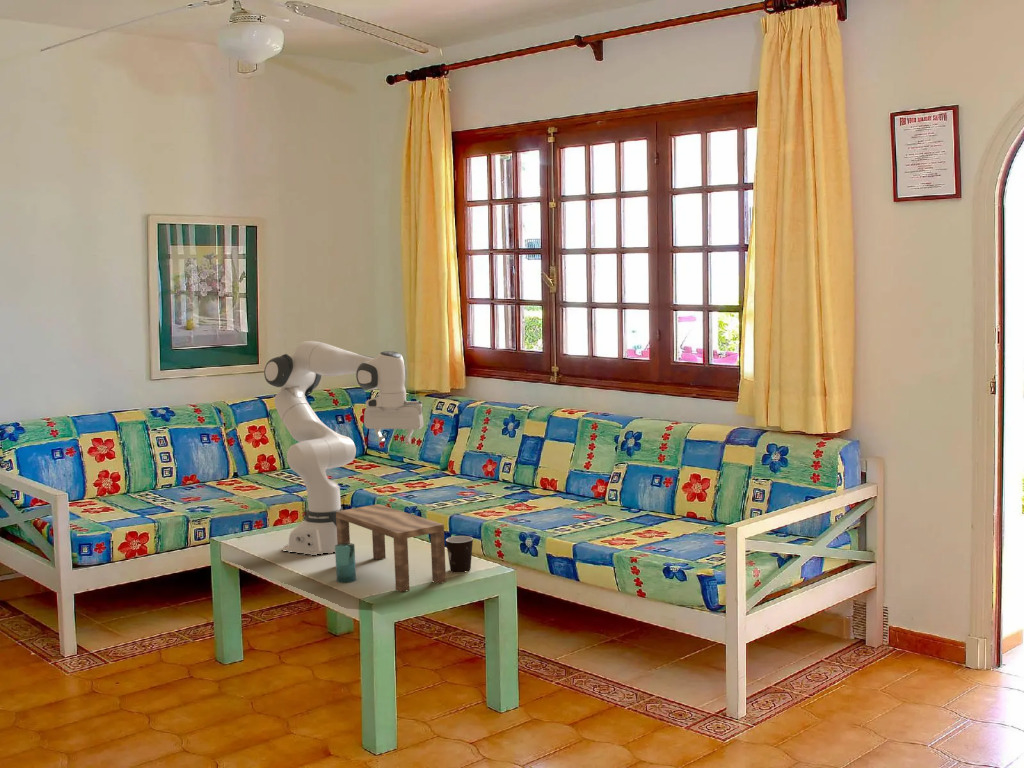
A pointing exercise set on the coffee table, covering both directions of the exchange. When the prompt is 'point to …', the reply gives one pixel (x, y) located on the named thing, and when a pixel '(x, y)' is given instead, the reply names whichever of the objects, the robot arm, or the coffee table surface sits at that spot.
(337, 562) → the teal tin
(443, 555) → the low shelf
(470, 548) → the coffee mug
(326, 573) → the coffee table surface
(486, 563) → the coffee table surface
